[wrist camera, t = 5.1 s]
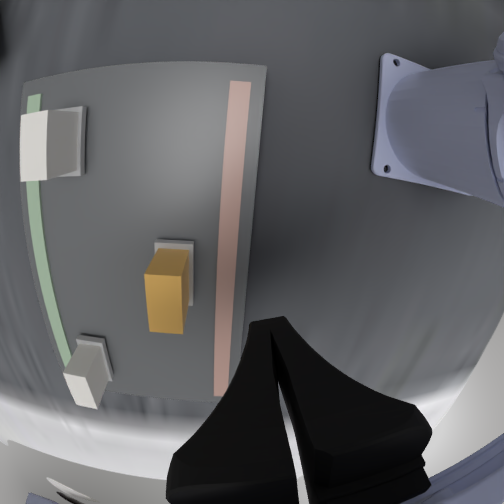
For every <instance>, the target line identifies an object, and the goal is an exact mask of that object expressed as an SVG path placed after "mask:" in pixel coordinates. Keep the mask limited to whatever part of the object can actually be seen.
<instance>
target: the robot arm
mask: <svg viewBox="0 0 504 504" xmlns="http://www.w3.org/2000/svg"><path fill="white" fill-rule="evenodd" d="M493 56H494V59H495V60H488V61H480V62H473V63H466V64H460V65H454V66H448V67H443V68H437V69H432V70H431V69H428V68H426V67H424V66H421V65H419V64H417V63H414V62H412V61H409V60H406V59H404V58H401V57H398V56H396V55H393V54H390V53H386V54H383V55H382V56H381V58H380V78H379V94H378V107H377V118H376V128H375V137H374V146H373V154H372V161H371V170H372V172H373V173H374V174H375V175H378V176H383V177H388V178H394V179H399V180H404V181H409V182H414V183H418V184H423V185H428V186H432V187H436V188H441V189H445V190H449V191H453V192H457V193H461V194H465V195H469V196H472V195H473V196H476V197H478V198H481V199H483V200H486V201H488V202H491V203H493V204H496V205H498V206H501V207H503V208H504V32H503V33H502V34H501V35H500V36H499V38H498V42H497V46H496V47H495V49H494V52H493ZM393 60H395V61H396V63H397V66H395V65H394V63H393ZM386 165H387V167H388V170H387V172H384V166H386ZM278 382H279V385H280V388H281V392H282V395H283V398H284V401H285V404H286V407H287V410H288V413H289V416H290V419H291V422H292V425H293V429H294V432H295V437H296V441H297V446H298V451H299V456H300V460H301V465H302V470H303V475H304V480H305V485H306V490H307V495H308V499H309V504H502V503H503V502H504V433H503V434H502V435H500V436H499V437H498V438H496V439H495V440H493V441H492V442H491V443H489V444H487V445H486V446H484V447H483V448H481V449H480V450H478V451H477V452H475V453H473V454H472V455H470V456H469V457H467V458H465V459H464V460H462V461H460V462H459V463H457V464H455V465H453V466H451V467H449V468H448V469H446V470H444V471H442V472H440V473H438V474H436V475H434V476H432V477H430V478H428V476H427V474H426V472H425V471H424V468H423V467H424V466H425V461H424V459H423V457H422V453H423V451H424V450H425V448H426V446H427V444H428V443H429V441H430V438H431V436H432V428H431V427H430V425H429V423H428V421H427V420H426V418H425V417H424V416H423V414H422V413H421V412H420V411H419V410H418V408H417V407H416V406H415V405H414V404H410V403H407V402H404V401H401V400H398V399H394V398H391V397H389V396H386V395H384V394H381V393H379V392H376V391H374V390H372V389H370V388H368V387H366V386H364V385H362V384H361V383H359V382H357V381H355V380H353V379H352V378H350V377H348V376H347V375H345V374H344V373H342V372H341V371H339V370H338V369H337V368H335V367H334V366H332V365H331V364H330V363H329V362H327V361H326V360H325V359H324V358H323V357H321V356H320V355H319V354H318V353H317V352H316V351H315V350H314V349H313V348H311V347H310V346H309V344H308V343H307V342H306V341H305V340H304V339H303V338H302V337H301V336H300V335H299V334H298V333H297V332H296V330H295V329H294V328H293V327H292V325H291V324H290V323H289V321H288V320H287V318H285V317H284V316H281V317H276V318H270V319H265V320H259V321H253V322H251V323H250V324H249V331H248V337H247V341H246V345H245V348H244V351H243V354H242V357H241V360H240V362H239V365H238V367H237V370H236V372H235V374H234V376H233V379H232V381H231V383H230V384H229V386H228V388H227V390H226V392H225V394H224V395H223V397H222V398H221V400H220V401H219V403H218V405H217V406H216V408H215V409H214V410H213V412H212V413H211V414H210V416H209V417H208V418H207V419H206V421H205V422H204V423H203V424H202V426H201V427H200V428H199V429H198V430H197V431H196V433H195V434H194V435H193V436H192V437H191V438H190V439H189V440H188V441H187V442H186V443H185V444H184V445H182V446H181V447H180V448H179V449H178V450H177V451H176V452H175V453H174V454H173V457H172V460H171V463H170V467H169V471H168V475H167V485H166V499H167V501H168V502H169V503H170V504H299V498H298V489H297V478H296V473H295V468H294V463H293V458H292V454H291V450H290V446H289V442H288V437H287V433H286V429H285V425H284V420H283V416H282V411H281V407H280V400H279V389H278ZM26 504H58V503H57V502H55V501H52V500H50V499H47V498H44V497H41V496H38V495H36V494H33V493H29V495H28V497H27V500H26Z"/></svg>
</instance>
